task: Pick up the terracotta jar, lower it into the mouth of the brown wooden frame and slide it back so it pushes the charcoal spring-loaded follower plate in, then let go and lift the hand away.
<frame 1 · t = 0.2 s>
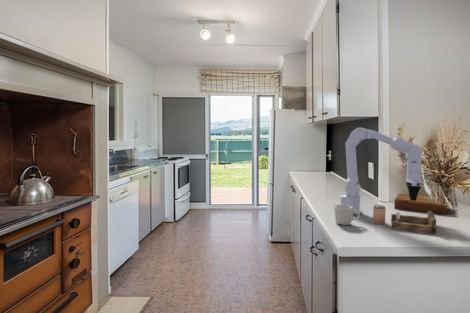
hand: (412, 198, 142), 10 cm above the worktop, tool pointing down, fingers open, 7 cm apart
brown wooden frame: (411, 226, 132), on the worktop
follower: (398, 219, 134), point 2 cm above the worktop, slide at 0.0 cm
jar: (379, 222, 138), on the worktop
cup: (346, 224, 136), on the worktop
brown wooden flat block: (420, 209, 164), on the worktop
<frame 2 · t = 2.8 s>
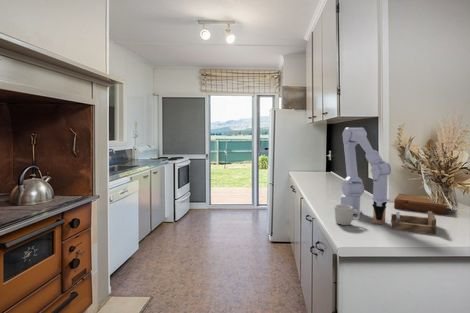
hand: (379, 218, 138), 2 cm above the worktop, tool pointing down, fingers closed on jar, 5 cm apart
jar: (379, 222, 138), on the worktop, touching gripper
everything else where it was.
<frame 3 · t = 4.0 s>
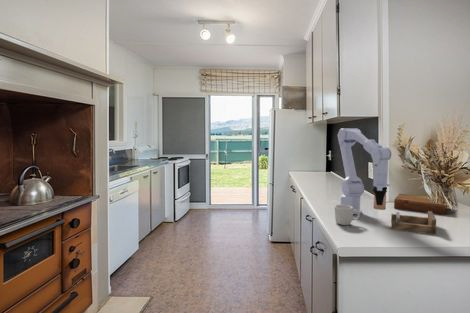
hand: (379, 203, 137), 9 cm above the worktop, tool pointing down, fingers closed on jar, 5 cm apart
jar: (379, 208, 137), point 7 cm above the worktop, touching gripper
everything else where it was.
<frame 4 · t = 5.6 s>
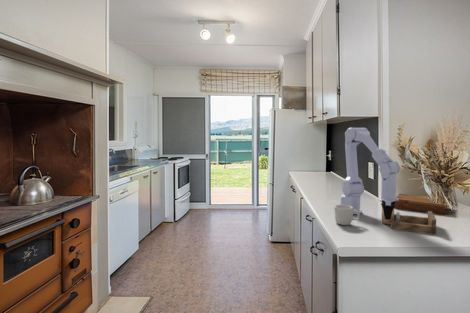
hand: (387, 217, 136), 3 cm above the worktop, tool pointing down, fingers closed on jar, 5 cm apart
jar: (387, 222, 136), point 1 cm above the worktop, touching gripper
everything else where it was.
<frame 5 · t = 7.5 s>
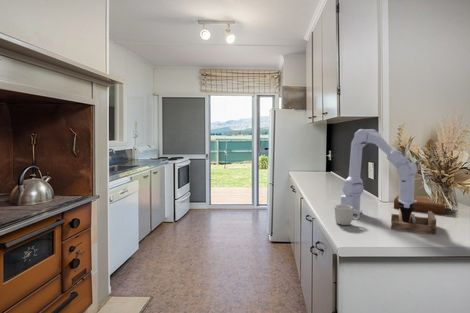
hand: (405, 220, 133), 2 cm above the worktop, tool pointing down, fingers closed on jar, 5 cm apart
follower: (413, 221, 131), point 3 cm above the worktop, slide at 5.9 cm, touching jar
jar: (404, 225, 133), on the worktop, touching follower, gripper
everything else where it was.
when the fingers open (2 cm above the worktop, at t = 8.7 s): jar stays where it is, on the worktop.
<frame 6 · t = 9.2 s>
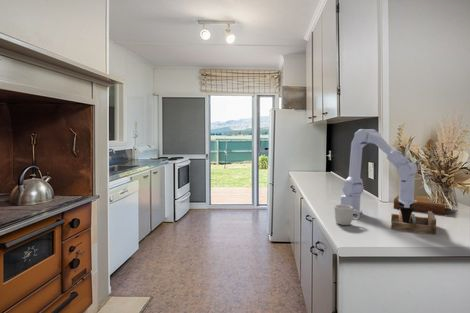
hand: (405, 220, 133), 2 cm above the worktop, tool pointing down, fingers open, 7 cm apart
follower: (413, 221, 131), point 3 cm above the worktop, slide at 5.9 cm
jar: (404, 225, 133), on the worktop
everything else where it was.
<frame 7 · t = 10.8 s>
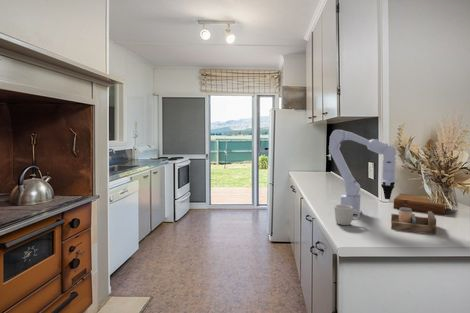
hand: (387, 197, 148), 9 cm above the worktop, tool pointing down, fingers open, 7 cm apart
nothing on the worktop moved.
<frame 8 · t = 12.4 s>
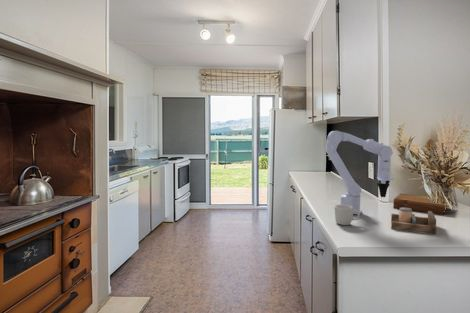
hand: (383, 195, 153), 9 cm above the worktop, tool pointing down, fingers open, 7 cm apart
nothing on the worktop moved.
at the end: jar 1.1 cm from the target spot on the brown wooden frame, point 0.0 cm above the brown wooden frame's base; follower slide at 5.9 cm; jar tilted 0° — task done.
